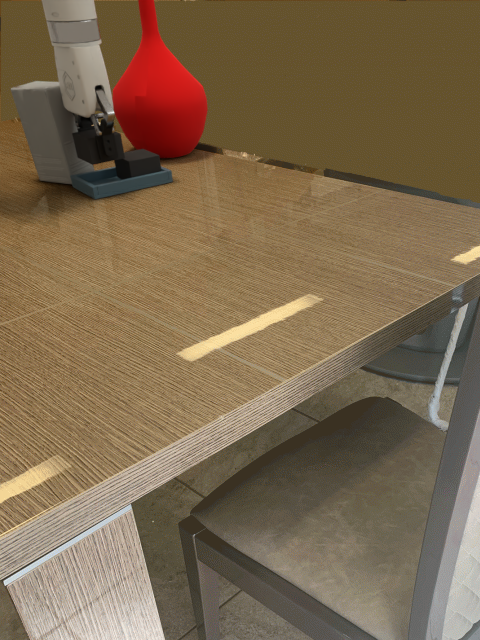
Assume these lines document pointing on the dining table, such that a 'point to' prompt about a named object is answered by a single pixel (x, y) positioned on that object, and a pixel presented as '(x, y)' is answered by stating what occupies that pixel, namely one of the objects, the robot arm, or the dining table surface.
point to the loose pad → (93, 146)
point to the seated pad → (137, 164)
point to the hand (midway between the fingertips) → (100, 154)
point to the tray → (116, 182)
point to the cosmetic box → (49, 131)
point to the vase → (159, 96)
